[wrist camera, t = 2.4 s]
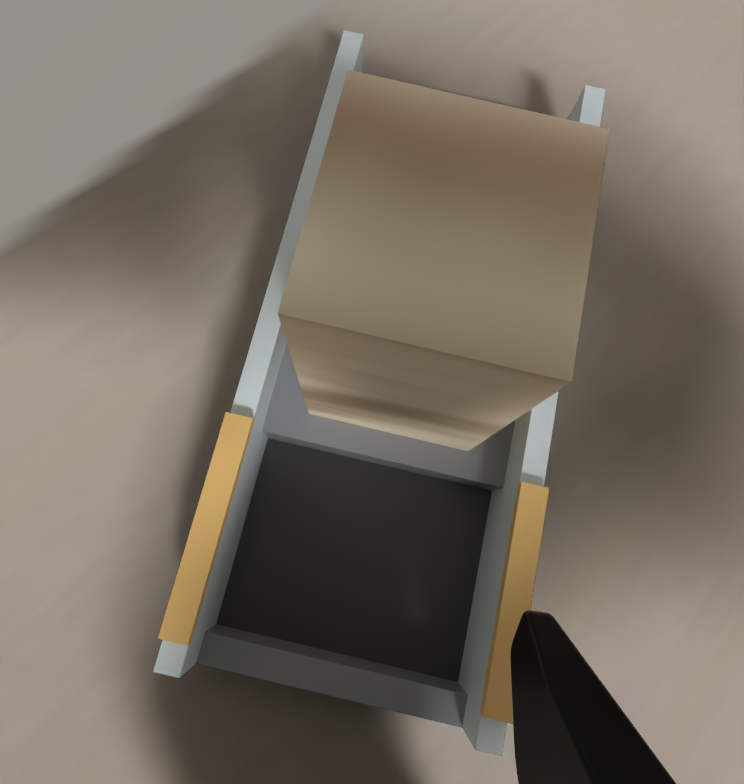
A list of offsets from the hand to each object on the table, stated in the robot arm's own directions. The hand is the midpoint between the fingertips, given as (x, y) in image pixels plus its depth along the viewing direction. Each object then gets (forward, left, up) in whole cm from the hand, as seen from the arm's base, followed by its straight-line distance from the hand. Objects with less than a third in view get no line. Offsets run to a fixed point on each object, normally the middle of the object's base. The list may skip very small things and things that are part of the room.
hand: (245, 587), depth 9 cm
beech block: (-1, -8, -11) cm, 14 cm away
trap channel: (-1, -8, -13) cm, 15 cm away
